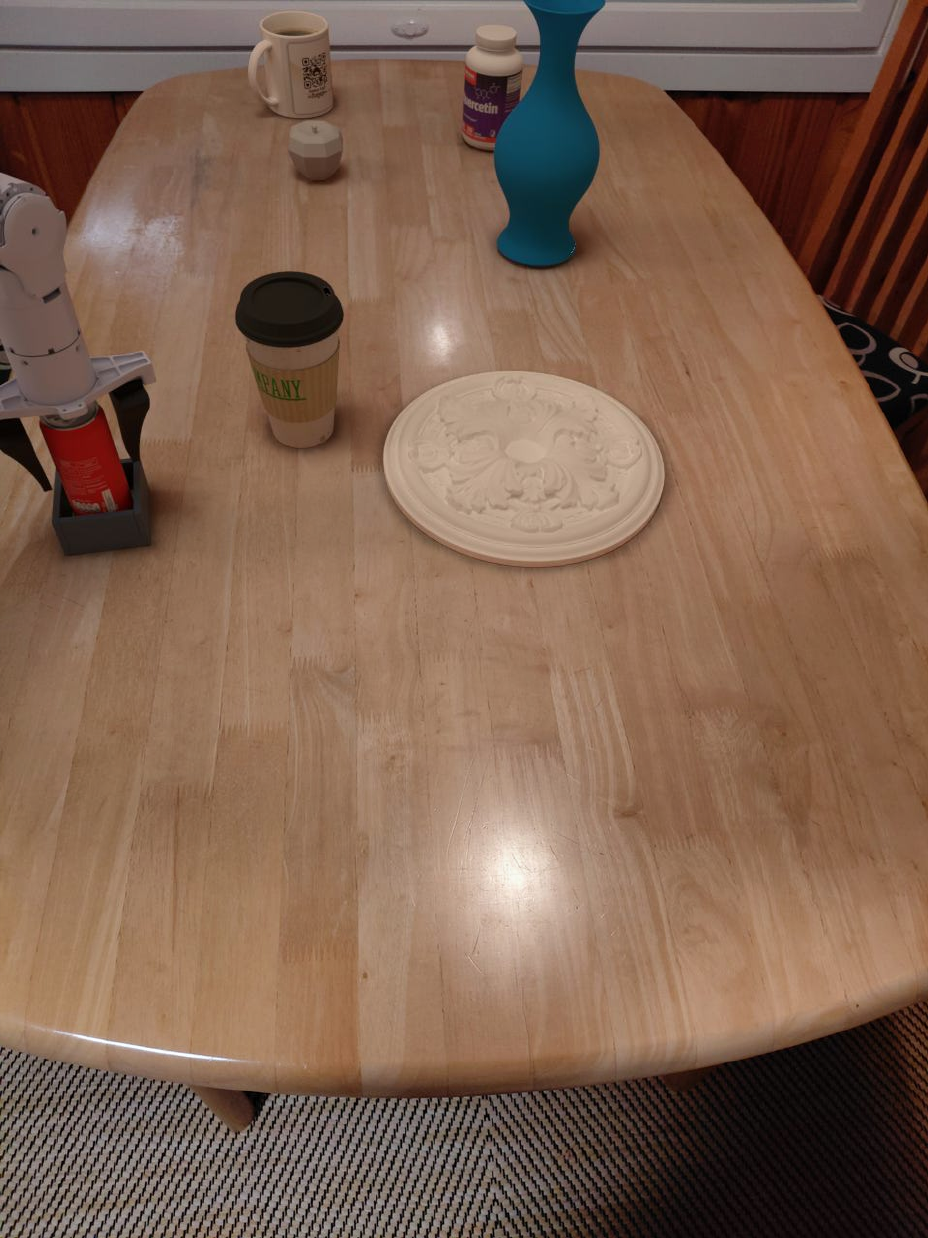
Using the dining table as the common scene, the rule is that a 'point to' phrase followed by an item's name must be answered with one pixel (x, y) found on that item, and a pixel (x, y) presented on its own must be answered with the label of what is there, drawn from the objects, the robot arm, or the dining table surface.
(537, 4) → the vase
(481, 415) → the ceiling medallion
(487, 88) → the pill bottle
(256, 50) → the mug
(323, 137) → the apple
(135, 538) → the grey square box
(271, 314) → the coffee cup
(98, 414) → the beverage can
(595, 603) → the dining table surface
